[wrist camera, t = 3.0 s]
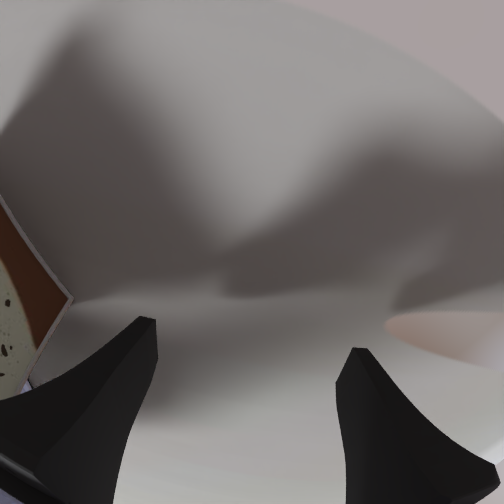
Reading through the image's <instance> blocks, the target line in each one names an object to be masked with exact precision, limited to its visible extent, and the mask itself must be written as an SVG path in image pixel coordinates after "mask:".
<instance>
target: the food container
mask: <svg viewBox="0 0 504 504" xmlns="http://www.w3.org/2000/svg"><path fill="white" fill-rule="evenodd" d="M73 300H74V298H73V296H72V295H71V294H70V293H69V292H68V290H67V289H66V288H65V287H64V286H63V284H62V283H61V282H60V280H59V279H58V278H57V277H56V275H55V274H54V273H53V272H52V270H51V269H50V268H49V266H48V265H47V264H46V262H45V261H44V260H43V258H42V257H41V255H40V254H39V253H38V251H37V250H36V248H35V247H34V246H33V244H32V243H31V241H30V240H29V238H28V237H27V235H26V234H25V233H24V231H23V230H22V228H21V226H20V225H19V223H18V222H17V220H16V219H15V217H14V216H13V214H12V212H11V211H10V209H9V207H8V206H7V204H6V203H5V201H4V199H3V197H2V196H1V194H0V400H3V399H7V398H10V397H13V396H16V395H19V394H20V393H21V391H22V389H23V387H24V385H25V383H26V381H27V379H28V377H29V375H30V373H31V371H32V369H33V367H34V366H35V364H36V362H37V360H38V358H39V356H40V355H41V353H42V351H43V349H44V348H45V346H46V344H47V342H48V341H49V339H50V337H51V336H52V334H53V332H54V331H55V329H56V327H57V326H58V324H59V322H60V321H61V319H62V317H63V316H64V314H65V313H66V311H67V310H68V308H69V306H70V305H71V303H72V302H73Z"/></svg>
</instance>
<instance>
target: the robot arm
mask: <svg viewBox="0 0 504 504" xmlns="http://www.w3.org/2000/svg"><path fill="white" fill-rule="evenodd" d="M157 361H158V350H157V335H156V319H152V318H147V317H143V316H139V317H138V318H137V319H135V320H134V321H133V322H132V323H131V324H129V325H128V326H127V327H126V328H125V329H124V330H122V331H121V332H120V333H119V334H118V335H117V336H115V337H114V338H113V339H112V340H110V341H109V342H108V343H107V344H105V345H104V346H103V347H102V348H101V349H99V350H98V351H97V352H95V353H94V354H92V355H91V356H90V357H88V358H87V359H86V360H84V361H83V362H81V363H80V364H78V365H77V366H75V367H74V368H72V369H71V370H69V371H67V372H66V373H64V374H62V375H61V376H59V377H57V378H55V379H53V380H51V381H49V382H47V383H45V384H43V385H41V386H39V387H37V388H34V389H32V388H31V386H30V384H29V382H28V380H27V381H26V383H25V385H24V387H23V389H22V391H21V393H20V394H19V395H16V396H13V397H10V398H7V399H3V400H0V504H113V499H114V493H115V488H116V483H117V478H118V474H119V469H120V465H121V461H122V457H123V453H124V450H125V446H126V443H127V439H128V436H129V433H130V430H131V428H132V425H133V423H134V420H135V418H136V416H137V413H138V411H139V409H140V407H141V404H142V402H143V400H144V397H145V395H146V393H147V390H148V388H149V386H150V383H151V381H152V378H153V374H154V371H155V368H156V364H157ZM336 405H337V412H338V418H339V424H340V429H341V435H342V441H343V447H344V453H345V462H346V504H475V503H477V502H478V501H480V500H481V499H483V498H484V497H485V496H487V495H489V494H490V493H491V492H493V491H494V490H495V489H496V488H497V487H498V486H499V485H500V479H499V476H498V474H497V471H496V468H495V465H494V464H492V463H490V462H488V461H486V460H484V459H482V458H480V457H478V456H476V455H474V454H473V453H471V452H469V451H468V450H466V449H465V448H463V447H462V446H460V445H459V444H457V443H456V442H454V441H453V440H452V439H450V438H449V437H448V436H446V435H445V434H444V433H443V432H441V431H440V430H439V429H438V428H437V427H435V426H434V425H433V424H432V423H431V422H430V421H429V420H428V419H427V418H426V417H425V416H424V415H423V414H422V413H421V412H420V411H419V410H418V409H417V408H416V407H415V406H414V405H413V404H412V403H411V402H410V401H409V399H408V398H407V397H406V396H405V395H404V394H403V393H402V391H401V390H400V389H399V388H398V387H397V385H396V384H395V383H394V382H393V380H392V379H391V378H390V376H389V375H388V374H387V373H386V371H385V370H384V369H383V368H382V366H381V365H380V364H379V362H378V361H377V360H376V358H375V357H374V356H373V355H372V353H371V352H370V351H369V350H368V349H367V348H354V347H353V348H352V350H351V352H350V354H349V356H348V359H347V361H346V363H345V365H344V367H343V369H342V371H341V373H340V375H339V377H338V379H337V381H336Z"/></svg>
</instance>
